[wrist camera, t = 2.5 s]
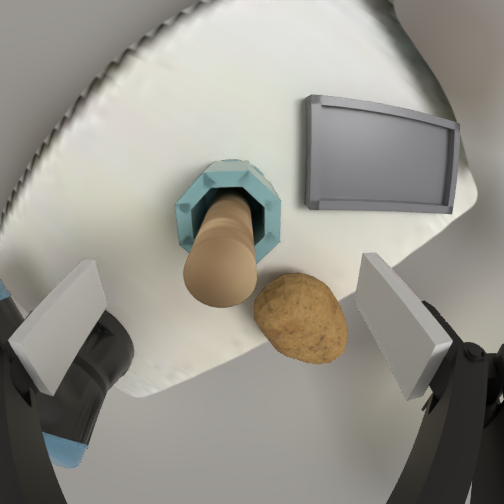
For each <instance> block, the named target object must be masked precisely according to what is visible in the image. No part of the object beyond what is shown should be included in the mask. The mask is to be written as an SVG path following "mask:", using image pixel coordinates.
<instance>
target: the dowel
mask: <svg viewBox="0 0 504 504" xmlns="http://www.w3.org/2000/svg"><path fill="white" fill-rule="evenodd" d="M183 276H184V282H185V285H186V287H187V289H188V291H189V292H190V293H191V294H192V296H193V297H195V298H196V299H197V300H198V301H200V302H201V303H203V304H206V305H208V306H212V307H217V308H226V307H232V306H235V305H238V304H240V303H242V302H243V301H245V300H246V299H247V298H248V297H249V296H250V295H251V294H252V292H253V290H254V289H255V286H256V282H257V269H256V260H255V250H254V240H253V230H252V220H251V210H250V201H249V194H248V191H247V190H245V189H244V188H243V187H219V188H218V190H217V192H216V194H215V196H214V198H213V200H212V203H211V205H210V207H209V209H208V212H207V214H206V216H205V218H204V221H203V223H202V225H201V228H200V230H199V232H198V235H197V237H196V239H195V242H194V244H193V246H192V249H191V251H190V253H189V256H188V258H187V261H186V263H185V266H184V272H183Z"/></svg>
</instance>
